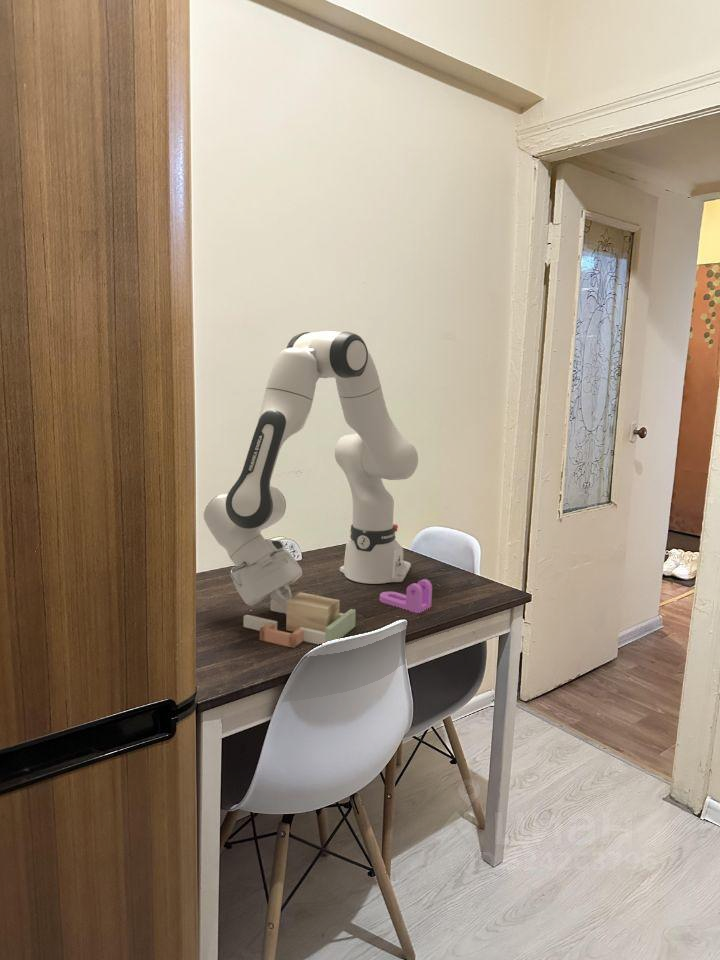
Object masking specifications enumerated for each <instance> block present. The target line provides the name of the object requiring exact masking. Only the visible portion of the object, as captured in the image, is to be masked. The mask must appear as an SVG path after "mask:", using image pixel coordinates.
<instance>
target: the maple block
mask: <svg viewBox="0 0 720 960" xmlns="http://www.w3.org/2000/svg"><path fill="white" fill-rule="evenodd" d="M340 602H341V601H340V599H336V598H330V597H326V596H321V595H317V594H310V593H307V592H306V593H305V592H300V591H299V592H298V593H297V594H295V595H292V598H290V599H288V600H287V611H286V614H285V615H286V618H285V619H286V622H285V623H286V624H285V625H286V629H285V630H286V631H289V632H292V633H293V632H295V631H296V630H298V629H299V628H300V627H304V628H309V629H313V630H318V631H322V632H325V628H326V627H328V626H329V625H330V624H331V623H333V622H334V621H335V620H337V619H338V618H339V613H340Z"/></svg>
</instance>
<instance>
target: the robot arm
mask: <svg viewBox="0 0 720 960" xmlns="http://www.w3.org/2000/svg"><path fill="white" fill-rule="evenodd" d="M378 373H379V372H378V370H377V368H376V365H375V362H374V360H373V357H372V355H371V353H370V352H369V350H368V348H367V345H366V343H365V340H363V338H362V336H361V335H360V336H359V334H356V333H353V332H351V331H337V330H336V331H335V330H322V331H315V332H310V331H309V332H307V331H306V332H305V331H304V332H302V333H298V334H296V335H294V336H292V337H291V339H290V341H289V342H288V344H287V346H286V348H285V349H283V350H281V351H280V353H279V354H278V356H277V357H276V359H275V361H274V364H273V367H272V369H271V372H270V374H269V377H268V380H267V385H266V386H265V387H266V388H265V392H264V397H263V400H262V405H261V407H260V408H261V409H260V414H259V417H258V420H257V424H256V427H255V430H254V433H253V436H252V439H251V442H250V444H249V445H250V446H249V449H248V451H247V454H246V458H245V461H244V463H243V467H242V470H241V473H240V475H239V477H238V478H237V480H236V482H235V483H234V484H233V486H232V487H231V488H230V490H229V491H228V493H227V492H226V493H225V492H223V493H220V494H218V495H217V496H215V497H213V499H211V500H210V502H208V504H207V505H206V507H205V509H204V512H203V520H204V522H205V524H206V527H207V528H208V530H209V531H210V533H211V534H212V536H213V538H214V539H215V540H216V542H217V543H218V544H219V546H221V547H222V548H224V550H226V552H227V556H228V558H229V559H230V560H231V562H232V563H233V564H234V566H233V567H231V569H230V578H231V579H232V581H233V585H234V587H235V589H236V591H237V592H238V594H239V595H240V598H241V600H243V602H244V603H245V604H246V605H248V606H250V607H253V606H255V605H256V604H258V603H260V602H261V601H263V600H265V599H267V598H270V599H271V600H273V601H275V602H277V603H278V604H280V605H281V606H282V607H283V609H284V610H286V609H287V600H288V599H290V598H292V597H293V595H292V591H291V587H290V586H289V585H291V584H293V583H294V582H296V581H297V580H298V579H299V578H300V577H302V576H303V569H302V567H301V565H299V562H297V560H296V558H295V557H294V556H293V555H292V554H291V552H290V551H289V550H286V549H285V548H286V545H285V544H284V542H283V541H282V540H279V539H278V540H276V539H275V540H274V539H268V538H266V539H265V538H264V536H263V534H261V532H262V531H263V530H265V529H267V528H268V527H271V526H273V525H275V524H277V523H278V522H279V521H280V520H281V519H282V518H283V517H284V516H285V515H284V514H285V512H286V507H287V503H286V502H287V501H286V499H285V496H284V494H283V493H282V492H281V490H280V489H278V488H276V487H275V486H272V485H271V481H272V477H273V474H274V470H275V468H276V464H277V461H278V456H279V454H280V450H281V449H282V446H283V444H284V443H285V442H286V440H288V439H289V438H290V437H292V436H293V435H295V434H297V433H299V432H300V431H301V430H302V429H303V428H304V427H305V424H306V422H307V420H308V418H309V415H310V413H311V409H312V406H313V401H314V397H315V392H316V387H317V385H316V384H317V382H318V381H319V379H330V378H334V379H335V383H336V388H337V389H336V390H337V393H338V398H339V401H340V405H341V410H342V414H343V418H344V420H345V422H346V424H347V426H349V427H350V428H351V429H352V430H353V431H355V433H350V434H345V435H342V436H341V437H340V438H339V440H338V441H337V442H336V444H335V448H334V458H335V461H336V463H337V465H338V466H339V468H341V470H342V471H343V473H344V475H345V477H346V479H347V481H348V484H349V488H350V491H351V496H352V499H351V500H352V524H351V525H350V532H349V534H350V537H349V538H350V540H349V541H348V542H347V543H346V544H345V552H344V553H345V554H344V561H343V562H344V563H343V565H341V566H340V567H339V572H340V573H343V574H344V576H345V577H346V578H347V579H349V580H351V581H353V582H356V583H361V584H370V585H372V584H373V585H374V584H375V585H377V584H386V583H402V582H403V581H405V580H404V579H406V576H407V574H408V573H409V571H410V569H411V567H412V563H410V562H408V561H406V560H404V547H402V546H401V544H399V542H398V541H397V540H396V533H397V531H398V529H399V525H398V524H394V506H395V499H394V498H393V496H392V495H391V493H390V492H389V491H388V490H387V489H386V487H385V485H384V483H383V481H382V480H389V481H400V480H401V481H403V480H407V479H409V478H411V477H412V476H413V474H415V472H416V470H417V468H418V465H419V456H418V455H419V454H418V451H417V449H416V447H415V446H414V444H412V443H410V442H409V441H408V440H407V439H406V438H405V437H404V436H403V435H402V434H401V432H400V431H399V429H398V428H397V427H396V425H395V424H394V422H393V420H392V418H391V416H390V414H389V411H388V409H387V406H386V401H385V398H384V394H383V389H382V385H381V382H380V377H379V374H378Z"/></svg>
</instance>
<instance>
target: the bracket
mask: <svg viewBox="0 0 720 960" xmlns="http://www.w3.org/2000/svg"><path fill="white" fill-rule="evenodd" d="M432 596H433V584H432V583H431V581H430V580H429V579H427V578H422V579H421V580H418V581H417V583H415V582H414V583H411V584H409V585H408V586H406V593H405V594H403V593H399V592H397V591H383V592H381V593H380V594H379V601H380V603H383V604H386V605H389V606H392V607H395V606H396V608H398V607H399V608H398V609H401V608H402V610H404V609H405V610H404V611H407V610H409V611H408V612H411V613H414V612H415V613H414V614H417V613H419V614H421V613H423V612H425V611H427V610H429V609H431V608H432V599H433V597H432ZM430 607H431V608H430ZM428 608H429V609H428ZM426 609H427V610H426ZM424 610H425V611H424ZM422 611H423V612H422ZM420 612H421V613H420Z"/></svg>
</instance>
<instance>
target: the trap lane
mask: <svg viewBox="0 0 720 960" xmlns="http://www.w3.org/2000/svg"><path fill="white" fill-rule="evenodd" d="M270 611H271V612H277V613H280V614H285V615H286V611H287V609H286V610H284V609H283V607H282V606H281V605H280V604H278V603H277V602H275V601H273V600H272V599H271V600H270ZM356 611H357V610H356V609H353V608H350V609H349V610H347V611H346V612H345V613H343V612H339V618H338V619H337V620H335V621H334V622H333V623H331V624H330V625H329V626H328V627H326V628H325V632H322V631H318V630H313V629H309V628H304V627H300V628H299V629H298V630H296V631H295V632H293V631H292V633H291V632H287V631H282V630H278V621H277V620H272V619H268V618H264V617H259V616H256V615H250V614H245V615H243V628H247V629H251V630H256V631H258V632H259V641H262V642H267V643H272V644H275V645H279V646H284V647H289V648H291V647H292V648H293V649H295V648H296V647H297V646H298V645H300V644H302V642H306V643H310V644H315V645H319V644H321V643H324V642H327V641H330V640H333V639H337V638H340V637H342V638H344V637H345V636H346V635H347V634H348V633H349V632H350V631H351V630H353V629H355V627H356V616H357V615H356V614H357V612H356ZM319 646H320V645H319Z"/></svg>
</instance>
